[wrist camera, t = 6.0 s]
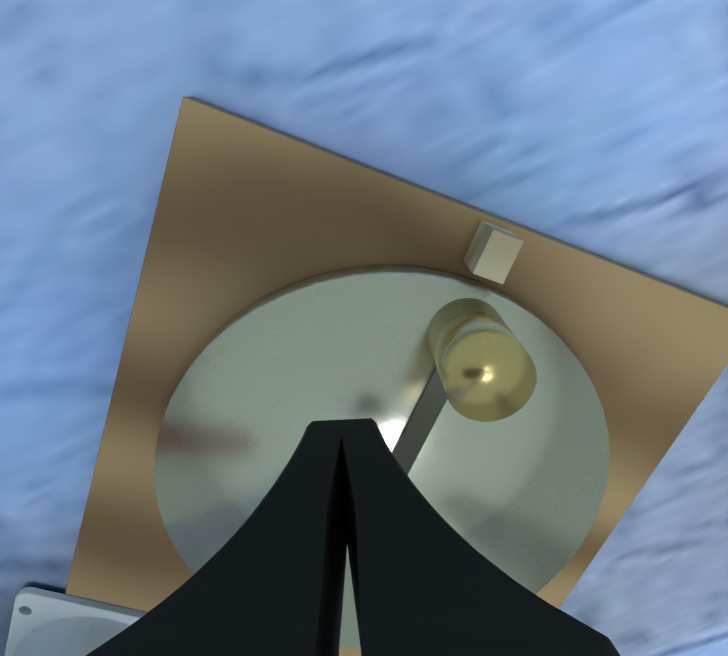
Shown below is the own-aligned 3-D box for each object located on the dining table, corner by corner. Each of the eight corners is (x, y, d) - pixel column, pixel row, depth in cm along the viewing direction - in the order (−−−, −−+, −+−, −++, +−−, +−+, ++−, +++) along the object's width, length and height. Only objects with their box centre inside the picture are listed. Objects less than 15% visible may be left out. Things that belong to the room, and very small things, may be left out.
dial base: (496, 670, 27) (510, 722, 25) (76, 574, 23) (48, 623, 21) (738, 310, 20) (788, 336, 18) (191, 96, 16) (168, 96, 14)
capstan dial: (478, 662, 25) (503, 767, 21) (118, 571, 22) (70, 674, 18) (683, 361, 19) (770, 428, 15) (238, 187, 16) (206, 215, 12)
